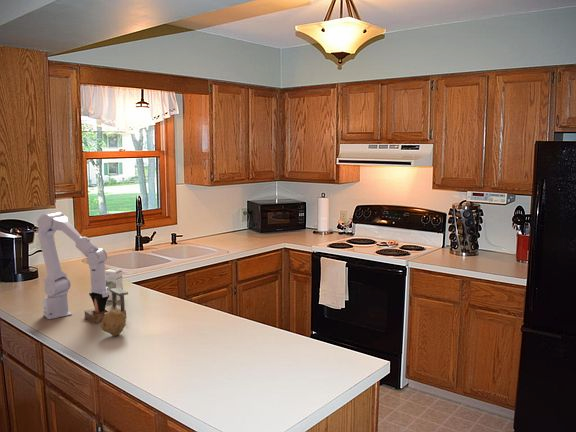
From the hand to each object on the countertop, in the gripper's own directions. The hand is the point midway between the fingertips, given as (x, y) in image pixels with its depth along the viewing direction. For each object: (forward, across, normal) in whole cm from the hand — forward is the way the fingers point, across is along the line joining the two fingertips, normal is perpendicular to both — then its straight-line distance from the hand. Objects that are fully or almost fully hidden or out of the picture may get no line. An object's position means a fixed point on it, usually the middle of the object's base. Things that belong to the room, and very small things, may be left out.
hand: (99, 310), depth 218 cm
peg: (+2, 0, 0) cm, 2 cm away
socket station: (+4, 0, -3) cm, 5 cm away
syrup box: (+4, +22, -16) cm, 28 cm away
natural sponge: (+4, -24, +4) cm, 24 cm away
